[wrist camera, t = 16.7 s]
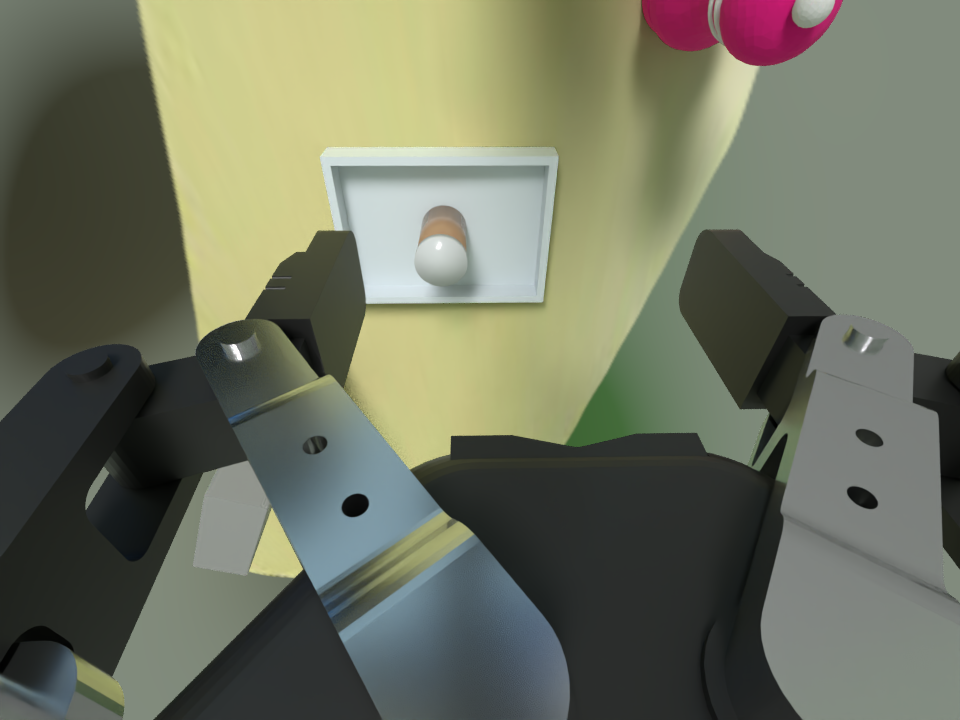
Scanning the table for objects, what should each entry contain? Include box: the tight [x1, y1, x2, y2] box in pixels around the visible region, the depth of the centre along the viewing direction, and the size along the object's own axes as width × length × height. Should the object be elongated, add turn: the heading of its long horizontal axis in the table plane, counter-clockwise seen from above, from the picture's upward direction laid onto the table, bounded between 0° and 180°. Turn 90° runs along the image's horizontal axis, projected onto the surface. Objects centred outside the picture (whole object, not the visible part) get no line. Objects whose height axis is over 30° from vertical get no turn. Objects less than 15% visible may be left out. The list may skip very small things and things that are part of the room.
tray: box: [320, 147, 559, 304], centre depth 49 cm, size 16×22×3 cm
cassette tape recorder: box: [193, 461, 272, 576], centre depth 54 cm, size 14×6×25 cm, turn 155°
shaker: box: [414, 205, 467, 287], centre depth 47 cm, size 5×5×8 cm
